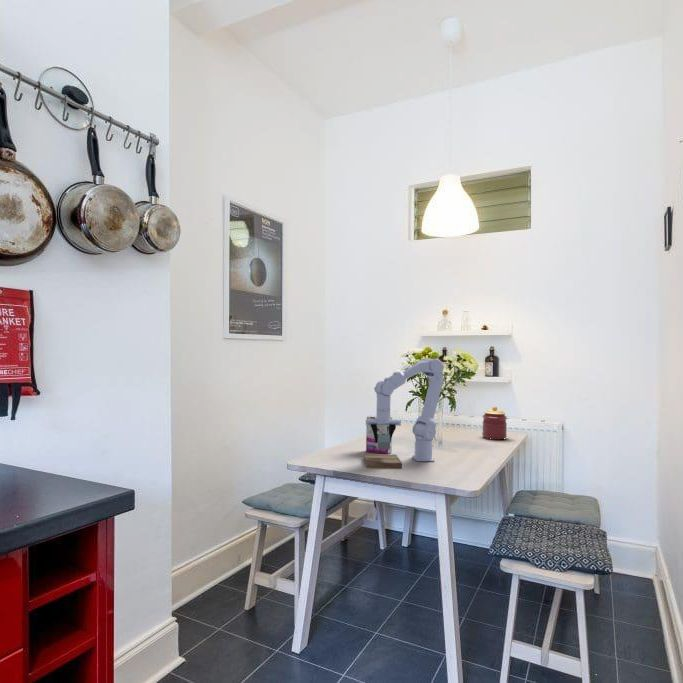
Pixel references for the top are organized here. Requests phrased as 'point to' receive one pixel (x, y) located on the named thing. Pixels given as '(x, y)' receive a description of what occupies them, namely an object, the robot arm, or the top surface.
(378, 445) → the housing
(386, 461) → the stand
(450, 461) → the top surface
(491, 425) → the canister
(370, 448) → the candy bar box
